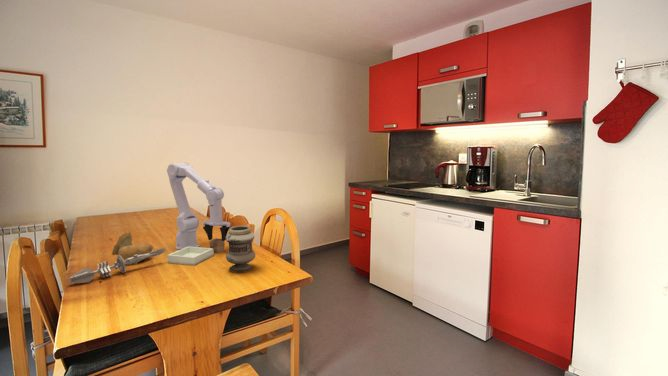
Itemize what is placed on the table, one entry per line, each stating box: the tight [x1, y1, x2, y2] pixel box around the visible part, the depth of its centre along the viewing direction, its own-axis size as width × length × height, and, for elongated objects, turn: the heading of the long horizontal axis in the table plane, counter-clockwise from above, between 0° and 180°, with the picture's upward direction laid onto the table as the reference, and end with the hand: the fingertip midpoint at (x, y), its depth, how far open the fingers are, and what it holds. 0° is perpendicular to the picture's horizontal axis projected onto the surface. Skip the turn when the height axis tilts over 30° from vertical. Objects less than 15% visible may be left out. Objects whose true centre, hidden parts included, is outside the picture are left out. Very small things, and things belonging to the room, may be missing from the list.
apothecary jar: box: [225, 225, 256, 274], centre depth 138 cm, size 12×12×18 cm
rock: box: [111, 231, 133, 255], centre depth 162 cm, size 10×8×10 cm
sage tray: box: [166, 246, 215, 266], centre depth 151 cm, size 14×14×4 cm
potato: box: [117, 242, 154, 261], centre depth 148 cm, size 10×14×8 cm
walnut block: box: [209, 238, 226, 255], centre depth 162 cm, size 5×5×6 cm
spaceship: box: [67, 248, 166, 284], centre depth 134 cm, size 8×35×8 cm
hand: (217, 240), depth 162 cm, fingers open, 7 cm apart
